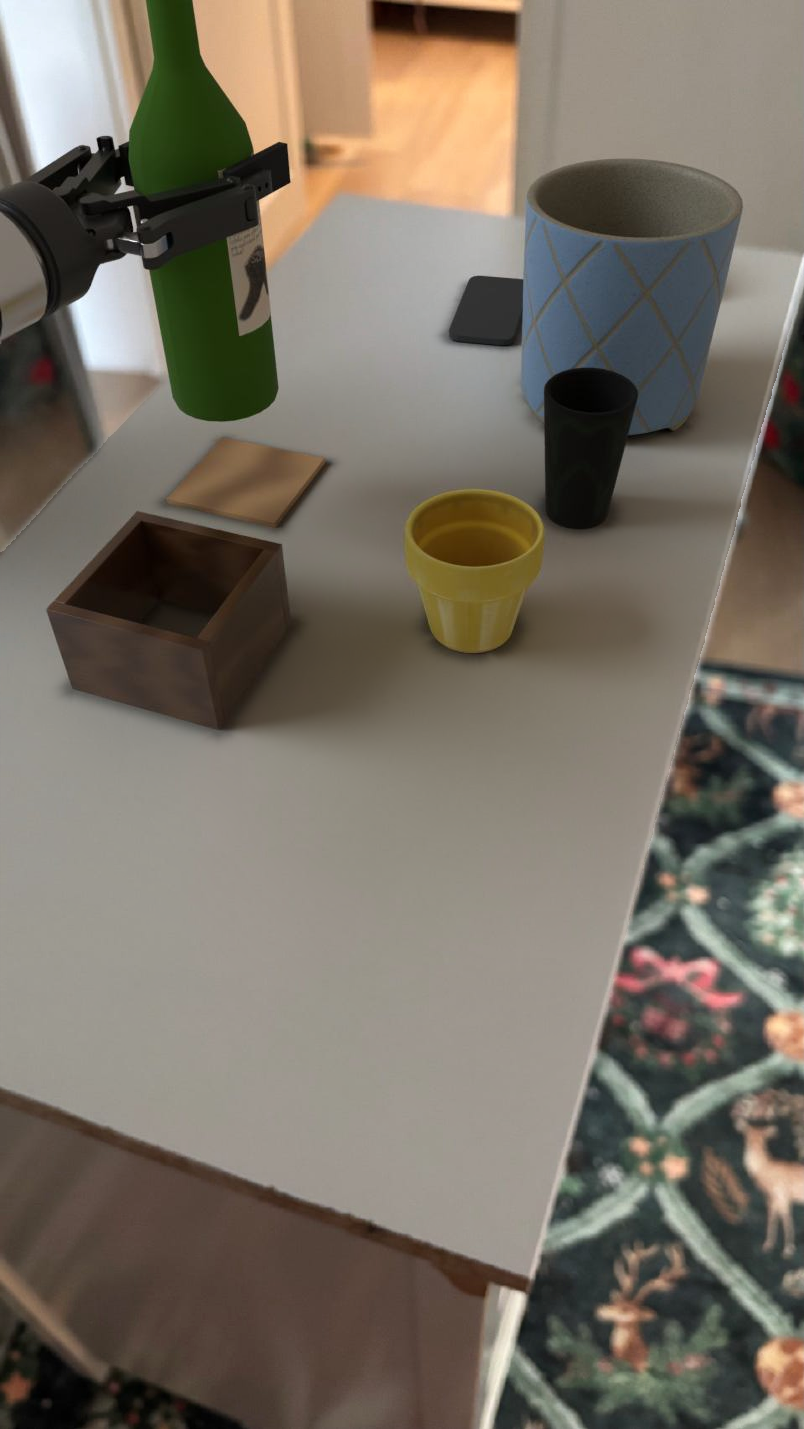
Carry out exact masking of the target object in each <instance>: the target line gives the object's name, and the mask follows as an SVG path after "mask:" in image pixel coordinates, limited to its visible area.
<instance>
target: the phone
mask: <svg viewBox="0 0 804 1429" xmlns="http://www.w3.org/2000/svg"><path fill="white" fill-rule="evenodd" d="M522 318H523V278H513V277H503V276H502V277H501V276H491V275H473V276H471V277H469V279H468V281H467V283H466V286H465V289H464V291H463V293H462V296H461V299H460V301H459V304H458V306H457V309H456V311H455V314H454V316H453V319H452V321H451V323H450V326H449V329H448V337H449V339H450V340H452V341H454V342H462V343H473V344H482V345H483V344H485V345H495V346H509V345H511V344H513V343H514V341H515V340H516V339H515V338H516V336H517V332H518V330H519V326H520V323H521V320H522Z"/></svg>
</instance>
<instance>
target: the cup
mask: <svg viewBox="0 0 804 1429" xmlns="http://www.w3.org/2000/svg"><path fill="white" fill-rule="evenodd" d="M637 399H638V391H637V388H636V386H635V385H634V384H633V383H632V382H631V381H630V380H629V379H628V378H626V377H624V376H623V375H621V374H618V373H616V372H614V371H610V370H606V369H600V368H574V369H569V370H565V371H562V372H560V373H558V374H556V375H554V376H553V377H552V378H550V379H549V380H548V381H547V383H546V384H545V387H544V423H543V425H544V429H543V430H544V433H543V434H544V436H543V437H544V490H545V491H544V501H545V510H544V511H545V514H546V516H547V517H548V519H549V520H550V521H551V522H552V523H554V524H555V525H558V526H559V527H563V528H565V529H570V530H589V529H593V528H596V527H598V526H600V525H601V524H603V523H604V522H605V521H606V519H607V517H608V515H609V511H610V506H611V502H612V498H613V495H614V491H615V487H616V484H617V479H618V476H619V472H620V468H621V465H622V460H623V457H624V453H625V450H626V445H627V441H628V436H629V435H628V434H629V430H630V426H631V422H632V418H633V414H634V410H635V407H636V403H637Z"/></svg>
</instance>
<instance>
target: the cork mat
mask: <svg viewBox="0 0 804 1429" xmlns="http://www.w3.org/2000/svg"><path fill="white" fill-rule="evenodd" d="M325 464H326V458H325V457H321V456H316V455H312V454H307V453H303V452H302V453H301V452H297V451H292V450H287V449H283V448H277V447H272V446H267V445H263V444H258V443H252V442H248V441H243V440H238V439H233V438H228V437H221V438H220V439H219V441H218V442H216V444H214V446H213V447H212V448H211V449H210V450H209V452H207V454H206V455H205V456H204V457H203V458H202V459H201V460H200V461H199V462H198V463H197V465H196V466H194V468H193V469H192V470H191V471H190V472H189V473H188V474H187V476H186V477H185V478H184V479H183V480H182V481H181V482H180V483H179V484H178V485H177V487H176V488H175V489H174V490H173V491H172V492H171V493H170V494H169V495H168V497H166V503H167V504H168V505H172V506H176V507H180V508H181V507H182V508H185V509H186V508H187V509H190V510H194V511H200V512H204V513H207V514H208V513H209V514H213V515H217V516H220V517H221V516H222V517H226V518H231V519H235V520H239V521H244V522H248V523H253V524H257V525H261V526H265V527H271V528H277V527H278V526H279V524H280V523H281V521H282V520H283V519H284V518H285V516H286V515H288V514H287V513H288V512H289V511H290V510H291V508H292V507H293V506H294V505H295V503H296V502H297V501H298V499H299V498H300V497H301V495H303V492H304V491H305V490H306V489H307V487H308V486H309V485H310V484H311V483H312V481H314V479H315V477H316V476H317V475H318V473H319V472H320V471H321V469H322V468H323V467H324V465H325Z"/></svg>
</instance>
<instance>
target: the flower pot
mask: <svg viewBox="0 0 804 1429" xmlns="http://www.w3.org/2000/svg"><path fill="white" fill-rule="evenodd" d="M545 539H546V529H545V525H544V521H543V520H542V517H541V516H540V514H539V513H538V512H537V511H536V510H535V509H534V507H532V506H531V505H530V504H528V503H527V502H526V501H524V500H523V499H520V498H518V497H516V496H513V495H511V494H509V493H506V492H502V491H497V490H491V489H483V488H467V489H466V488H465V489H464V488H463V489H455V490H449V491H446V492H442V493H439V494H437V495H434V496H432V497H431V496H430V497H429V498H427V499H425V500H424V501H423V502H421V503H419V504H418V505H417V506H416V507H415V508H414V509H413V510H412V511H411V513H409V516H408V517H407V519H406V521H405V525H404V555H405V565H406V569H407V572H408V574H409V577H410V578H411V579H412V581H413V582H414V583H415V584H416V585H417V586H418V589H419V594H420V597H421V600H422V603H423V608H424V611H425V614H426V618H427V622H428V626H429V629H430V632H431V634H432V635H433V637H434V638H435V639H436V641H437V642H439V643H440V644H441V645H443V647H446V648H447V649H450V650H452V651H455V652H460V653H463V654H480V653H486V652H489V651H493V650H495V649H497V648H500V647H501V646H503V645H504V644H505V643H506V642H507V641H508V640H509V638H510V637H511V635H512V633H513V630H514V627H515V624H516V622H517V618H518V616H519V613H520V610H521V607H522V605H523V602H524V599H525V595H526V593H527V590H528V588H529V587H530V586H531V585H532V584H533V583H534V582H535V581H536V579H537V578H538V576H539V575H540V572H541V569H542V565H543V558H544V552H545V551H544V550H545V549H544V548H545Z"/></svg>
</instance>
